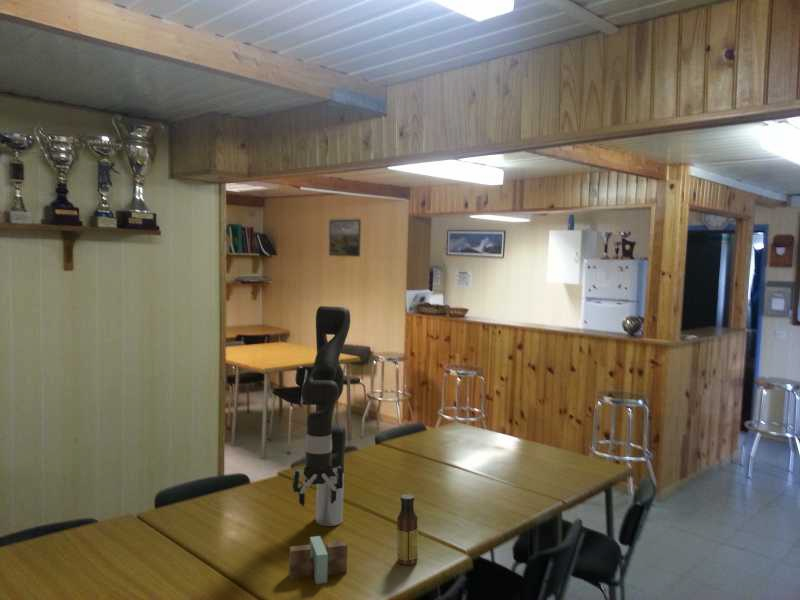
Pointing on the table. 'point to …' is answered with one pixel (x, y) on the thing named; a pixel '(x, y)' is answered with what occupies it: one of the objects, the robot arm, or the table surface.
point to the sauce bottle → (407, 532)
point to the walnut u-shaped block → (304, 564)
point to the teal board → (319, 559)
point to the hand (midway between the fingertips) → (317, 503)
